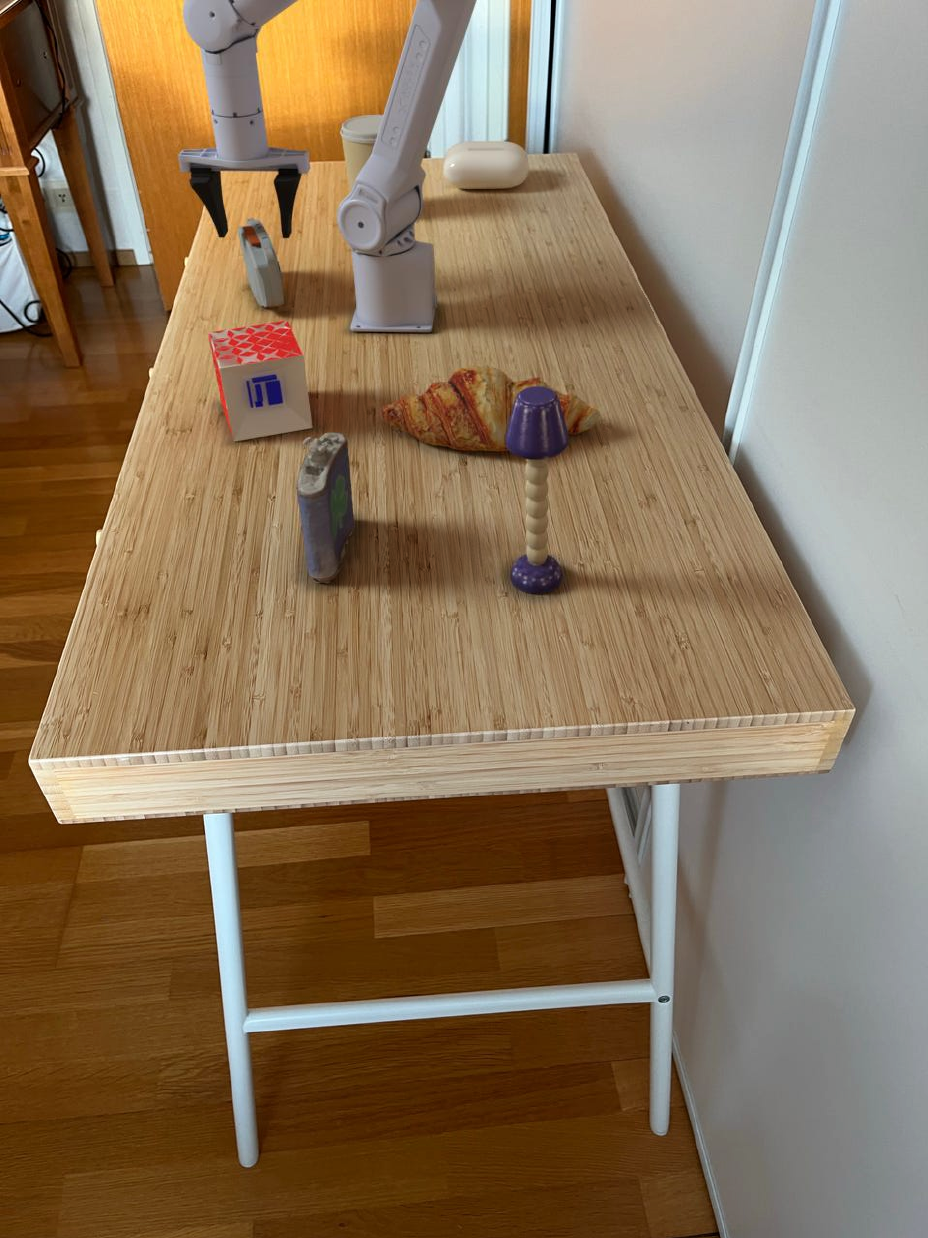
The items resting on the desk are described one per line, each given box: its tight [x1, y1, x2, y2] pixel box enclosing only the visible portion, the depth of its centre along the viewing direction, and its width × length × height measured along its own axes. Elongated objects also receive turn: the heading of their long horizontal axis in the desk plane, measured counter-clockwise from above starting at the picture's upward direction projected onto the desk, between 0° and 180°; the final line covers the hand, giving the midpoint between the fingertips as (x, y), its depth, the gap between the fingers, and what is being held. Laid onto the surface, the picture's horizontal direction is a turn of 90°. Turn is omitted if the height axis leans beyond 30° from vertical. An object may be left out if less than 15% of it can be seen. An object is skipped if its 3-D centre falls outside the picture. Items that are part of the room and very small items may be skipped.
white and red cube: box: [207, 320, 314, 443], centre depth 98 cm, size 8×8×8 cm
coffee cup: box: [339, 114, 383, 193], centre depth 140 cm, size 9×9×12 cm
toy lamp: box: [505, 386, 570, 595], centre depth 75 cm, size 5×5×17 cm
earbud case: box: [442, 140, 530, 190], centre depth 151 cm, size 10×13×5 cm
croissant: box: [381, 365, 601, 452], centre depth 96 cm, size 21×10×8 cm, turn 92°
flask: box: [295, 432, 356, 584], centre depth 80 cm, size 9×3×11 cm, turn 172°
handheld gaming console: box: [237, 217, 285, 308], centre depth 120 cm, size 14×3×8 cm, turn 20°
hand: (255, 234), depth 118 cm, fingers open, 7 cm apart
